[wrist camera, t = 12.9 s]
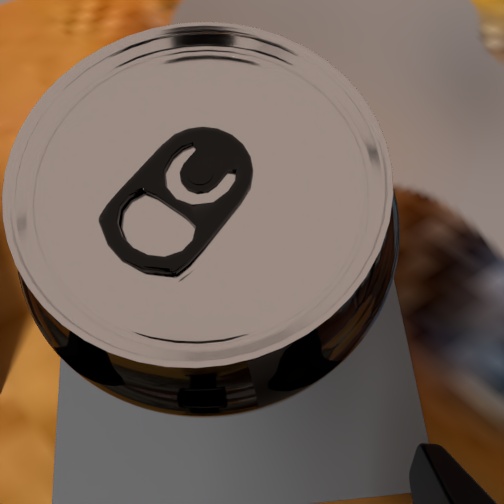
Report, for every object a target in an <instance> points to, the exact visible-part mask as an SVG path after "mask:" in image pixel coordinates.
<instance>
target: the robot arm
mask: <svg viewBox="0 0 504 504" xmlns="http://www.w3.org/2000/svg"><path fill="white" fill-rule="evenodd" d="M409 483H410V489H411V495H412V500H413V504H497V503H496V502H495V501H494V500H493V499H492V498H491V497H490V496H489V495H488V494H487V493H486V492H485V491H484V490H483V489H482V488H481V487H480V486H479V484H478V483H477V482H476V481H475V480H474V479H473V478H472V477H471V476H470V475H469V474H468V473H467V472H466V471H465V470H464V469H463V468H462V467H461V466H460V465H459V464H458V463H457V461H456V460H455V459H454V458H453V457H452V456H451V455H450V454H449V453H448V452H447V451H446V450H445V449H444V448H443V447H442V446H440V445H437V444H427V443H420V444H419V445H418V446H417V448H416V451H415V454H414V458H413V461H412V464H411V467H410V471H409Z"/></svg>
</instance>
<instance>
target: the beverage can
mask: <svg viewBox="0 0 504 504" xmlns="http://www.w3.org/2000/svg"><path fill="white" fill-rule="evenodd" d="M2 205H3V222H4V227H5V232H6V238H7V243H8V245H9V248H10V251H11V254H12V257H13V259H14V262H15V265H16V267H17V269H18V274H19V279H20V284H21V288H22V291H23V294H24V297H25V300H26V303H27V305H28V308H29V310H30V312H31V315H32V317H33V319H34V321H35V323H36V324H37V326H38V328H39V330H40V331H41V333H42V334H43V336H44V337H45V339H46V340H47V342H48V343H49V344H50V346H51V347H52V348H53V349H54V351H55V352H56V353H57V354H58V355H59V356H60V357H61V358H62V359H63V360H64V361H65V362H66V363H67V364H68V365H69V366H70V367H71V368H72V369H73V370H74V371H75V372H76V373H78V374H79V375H80V376H82V377H83V378H84V379H85V380H87V381H88V382H90V383H91V384H93V385H94V386H95V387H97V388H99V389H100V390H102V391H104V392H105V393H107V394H109V395H111V396H113V397H115V398H117V399H119V400H121V401H124V402H126V403H129V404H131V405H134V406H137V407H140V408H143V409H146V410H150V411H154V412H158V413H163V414H168V415H174V416H180V417H189V418H224V417H233V416H239V415H244V414H249V413H253V412H257V411H261V410H264V409H267V408H270V407H273V406H275V405H278V404H280V403H283V402H285V401H287V400H289V399H291V398H293V397H295V396H297V395H299V394H301V393H302V392H304V391H306V390H307V389H309V388H311V387H312V386H313V385H315V384H316V383H318V382H319V381H320V380H322V379H323V378H324V377H326V376H327V375H328V374H329V373H331V372H332V371H333V370H334V369H335V368H337V367H338V366H339V365H340V364H341V363H342V362H343V361H344V360H345V359H346V358H347V357H348V356H349V355H350V354H351V353H352V352H353V351H354V350H355V349H356V347H357V346H358V345H359V344H360V343H361V341H362V340H363V339H364V337H365V336H366V335H367V333H368V332H369V330H370V329H371V327H372V326H373V324H374V322H375V321H376V319H377V317H378V316H379V314H380V312H381V310H382V308H383V306H384V303H385V301H386V299H387V296H388V294H389V291H390V288H391V285H392V282H393V279H394V275H395V271H396V267H397V261H398V254H399V244H400V223H399V213H398V206H397V201H396V196H395V192H394V188H393V178H392V165H391V161H390V157H389V152H388V147H387V143H386V140H385V137H384V135H383V133H382V130H381V128H380V125H379V123H378V121H377V118H376V116H375V115H374V113H373V112H372V110H371V108H370V107H369V105H368V104H367V102H366V100H365V99H364V97H363V96H362V94H361V93H360V92H359V91H358V90H357V89H356V88H355V87H354V85H353V84H352V83H351V82H350V81H349V80H348V79H347V77H346V76H345V75H343V74H342V73H341V72H340V71H339V70H337V69H336V68H335V67H334V66H333V65H332V64H331V63H329V62H328V61H327V60H326V59H324V58H322V57H321V56H319V55H318V54H316V53H315V52H313V51H312V50H310V49H308V48H307V47H305V46H303V45H301V44H299V43H297V42H294V41H292V40H290V39H288V38H286V37H283V36H281V35H278V34H275V33H271V32H268V31H265V30H262V29H258V28H254V27H248V26H243V25H237V24H232V23H215V22H197V23H181V24H174V25H169V26H163V27H158V28H153V29H149V30H146V31H143V32H140V33H136V34H133V35H130V36H127V37H125V38H123V39H120V40H118V41H116V42H114V43H111V44H109V45H107V46H105V47H103V48H101V49H99V50H98V51H96V52H94V53H93V54H91V55H90V56H88V57H86V58H85V59H83V60H81V61H80V62H79V63H77V64H76V65H75V66H74V67H72V68H71V69H70V70H69V71H67V72H66V73H65V74H64V75H62V76H61V77H60V78H59V79H58V80H57V81H56V82H55V83H54V84H53V85H52V86H51V87H50V88H49V89H48V90H47V91H46V92H45V93H44V95H43V96H42V97H41V98H40V100H39V101H38V102H37V104H36V105H35V106H34V108H33V109H32V110H31V112H30V113H29V115H28V117H27V118H26V120H25V122H24V124H23V125H22V127H21V129H20V130H19V133H18V135H17V137H16V140H15V142H14V145H13V147H12V149H11V152H10V156H9V159H8V163H7V167H6V171H5V176H4V185H3V193H2Z"/></svg>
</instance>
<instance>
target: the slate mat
mask: <svg viewBox="0 0 504 504" xmlns="http://www.w3.org/2000/svg"><path fill="white" fill-rule="evenodd" d="M420 443H427V444H429V440H428V436H427V431H426V426H425V422H424V417H423V412H422V408H421V403H420V398H419V394H418V389H417V384H416V380H415V375H414V370H413V366H412V361H411V356H410V352H409V347H408V342H407V338H406V333H405V328H404V324H403V319H402V314H401V310H400V305H399V300H398V296H397V291H396V286H395V282H394V279H393V282H392V285H391V288H390V291H389V294H388V296H387V299H386V301H385V303H384V306H383V308H382V310H381V312H380V314H379V316H378V317H377V319H376V321H375V322H374V324H373V326H372V327H371V329H370V330H369V332H368V333H367V335H366V336H365V337H364V339H363V340H362V341H361V343H360V344H359V345H358V346H357V347H356V349H355V350H354V351H353V352H352V353H351V354H350V355H349V356H348V357H347V358H346V359H345V360H344V361H343V362H342V363H341V364H340V365H339V366H338V367H337V368H335V369H334V370H333V371H332V372H331V373H329V374H328V375H327V376H326V377H324V378H323V379H322V380H320V381H319V382H318V383H316V384H315V385H313V386H312V387H311V388H309V389H307V390H306V391H304V392H302V393H301V394H299V395H297V396H295V397H293V398H291V399H289V400H287V401H285V402H283V403H280V404H278V405H275V406H273V407H270V408H267V409H264V410H261V411H257V412H253V413H249V414H244V415H239V416H233V417H224V418H189V417H180V416H174V415H168V414H163V413H158V412H154V411H150V410H146V409H143V408H140V407H137V406H134V405H131V404H129V403H126V402H124V401H121V400H119V399H117V398H115V397H113V396H111V395H109V394H107V393H105V392H104V391H102V390H100V389H99V388H97V387H95V386H94V385H93V384H91V383H90V382H88V381H87V380H85V379H84V378H83V377H82V376H80V375H79V374H78V373H76V372H75V371H74V370H73V369H72V368H71V367H70V366H69V365H68V364H67V363H66V362H65V361H64V360H63V359H62V358H61V361H60V378H59V395H58V411H57V428H56V445H55V462H54V479H53V496H52V504H312V503H321V502H331V501H340V500H349V499H359V498H368V497H378V496H387V495H396V494H406V493H411V489H410V483H409V471H410V467H411V464H412V461H413V458H414V454H415V451H416V448H417V446H418V445H419V444H420Z"/></svg>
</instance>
